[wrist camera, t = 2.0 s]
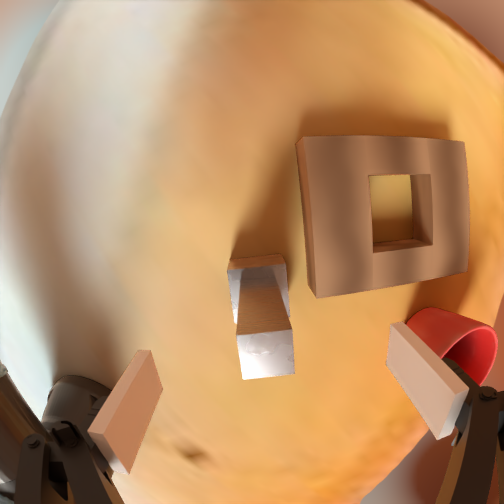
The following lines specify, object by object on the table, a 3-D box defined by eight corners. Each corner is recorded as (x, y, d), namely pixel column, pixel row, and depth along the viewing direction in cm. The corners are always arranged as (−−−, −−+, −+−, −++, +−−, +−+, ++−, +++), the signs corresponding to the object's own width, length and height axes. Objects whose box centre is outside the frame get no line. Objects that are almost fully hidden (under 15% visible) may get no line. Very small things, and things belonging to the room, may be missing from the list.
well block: (307, 284, 29) (316, 298, 25) (295, 144, 26) (303, 136, 22) (447, 263, 29) (467, 271, 25) (443, 145, 26) (464, 141, 22)
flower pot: (380, 316, 30) (421, 359, 21) (451, 281, 30) (502, 308, 20) (389, 381, 32) (421, 428, 23) (454, 347, 32) (493, 381, 22)
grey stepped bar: (236, 306, 30) (228, 393, 16) (229, 259, 29) (214, 320, 15) (284, 301, 30) (311, 384, 16) (280, 253, 29) (309, 310, 15)
